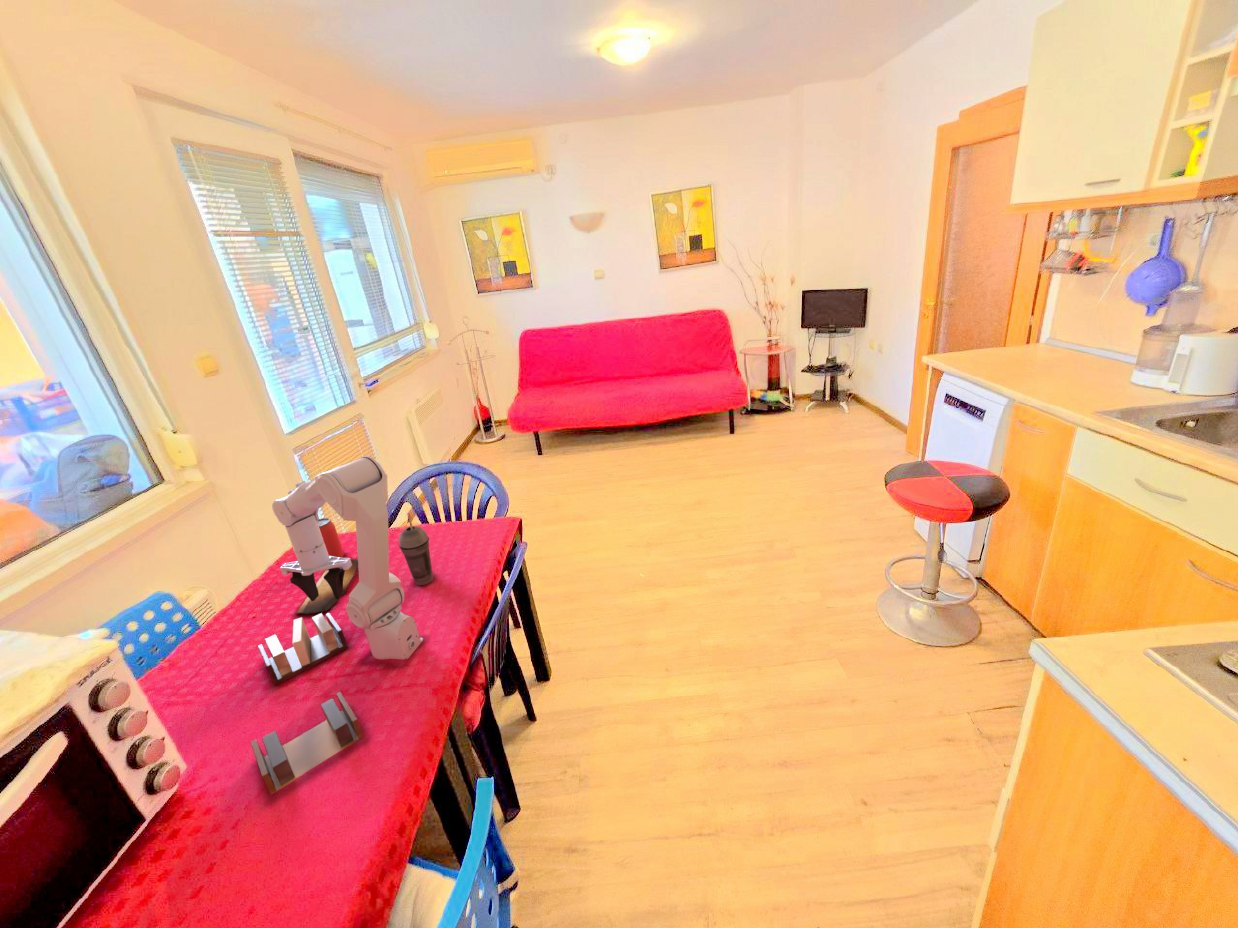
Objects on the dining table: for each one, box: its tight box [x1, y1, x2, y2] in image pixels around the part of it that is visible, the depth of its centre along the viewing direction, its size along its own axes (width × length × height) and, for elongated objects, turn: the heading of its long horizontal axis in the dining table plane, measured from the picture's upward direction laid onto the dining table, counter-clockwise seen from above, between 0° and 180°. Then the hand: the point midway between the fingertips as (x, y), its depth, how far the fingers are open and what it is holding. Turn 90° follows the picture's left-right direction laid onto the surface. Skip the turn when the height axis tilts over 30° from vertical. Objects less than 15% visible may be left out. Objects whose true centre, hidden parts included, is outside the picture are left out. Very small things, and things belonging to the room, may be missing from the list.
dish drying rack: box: [257, 612, 349, 686], centre depth 107 cm, size 14×9×6 cm, turn 134°
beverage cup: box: [398, 512, 434, 586], centre depth 129 cm, size 7×7×20 cm
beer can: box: [317, 517, 344, 558], centre depth 145 cm, size 7×7×12 cm
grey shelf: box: [250, 691, 364, 796], centre depth 85 cm, size 14×9×5 cm, turn 135°
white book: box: [291, 616, 311, 666], centre depth 107 cm, size 2×9×6 cm, turn 30°
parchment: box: [295, 558, 358, 615], centre depth 133 cm, size 25×10×1 cm, turn 8°
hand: (327, 597), depth 114 cm, fingers open, 5 cm apart
